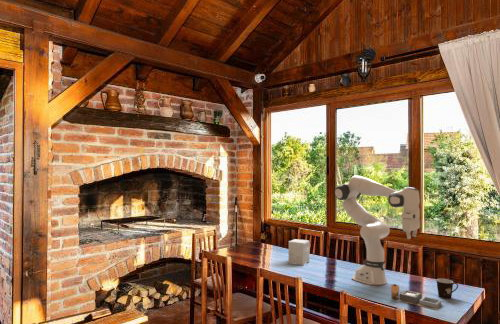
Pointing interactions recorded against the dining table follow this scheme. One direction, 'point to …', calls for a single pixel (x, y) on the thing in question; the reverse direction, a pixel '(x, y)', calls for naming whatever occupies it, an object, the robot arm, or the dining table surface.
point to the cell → (394, 291)
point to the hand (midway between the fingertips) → (411, 237)
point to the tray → (430, 302)
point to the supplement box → (298, 251)
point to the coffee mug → (445, 288)
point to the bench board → (419, 304)
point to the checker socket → (410, 297)
